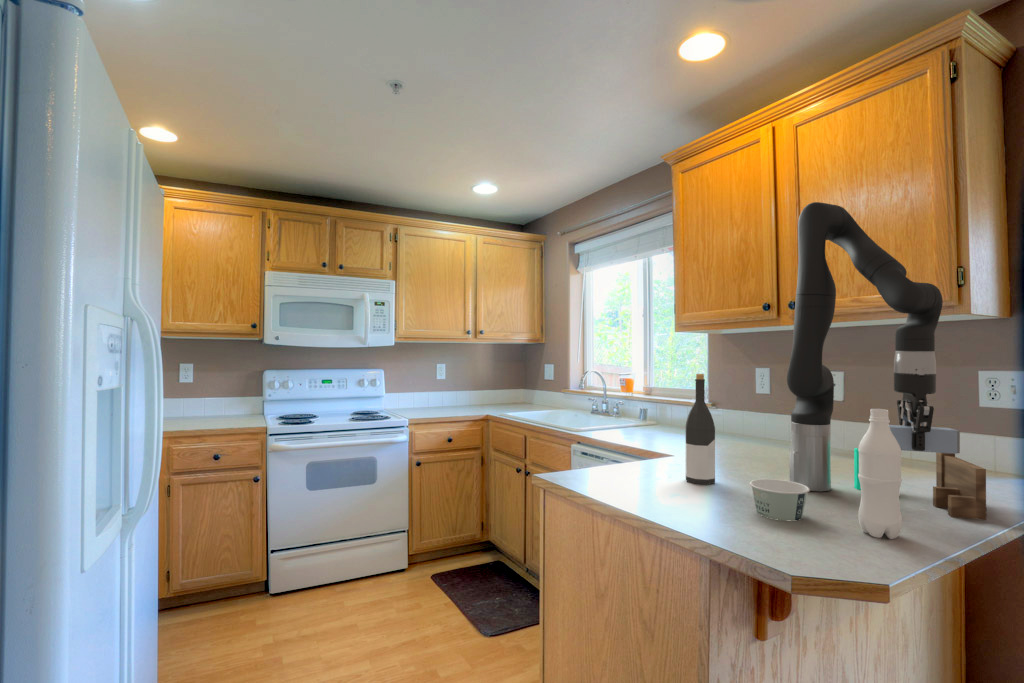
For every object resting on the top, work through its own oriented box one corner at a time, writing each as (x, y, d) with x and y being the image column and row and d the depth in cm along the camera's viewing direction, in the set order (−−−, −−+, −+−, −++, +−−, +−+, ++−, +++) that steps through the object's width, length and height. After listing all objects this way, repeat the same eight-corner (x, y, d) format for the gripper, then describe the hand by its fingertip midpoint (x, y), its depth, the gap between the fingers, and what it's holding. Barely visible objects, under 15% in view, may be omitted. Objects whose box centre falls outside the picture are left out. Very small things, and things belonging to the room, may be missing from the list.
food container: (737, 510, 122) (737, 481, 122) (775, 504, 127) (775, 476, 127) (783, 526, 111) (782, 495, 111) (822, 519, 116) (822, 489, 116)
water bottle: (903, 543, 101) (903, 412, 101) (858, 536, 105) (858, 410, 105) (900, 532, 107) (899, 408, 107) (858, 526, 111) (857, 406, 111)
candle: (878, 487, 142) (878, 442, 142) (883, 493, 136) (883, 446, 136) (852, 485, 144) (852, 441, 144) (856, 490, 139) (855, 444, 139)
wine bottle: (690, 476, 153) (689, 372, 153) (719, 480, 148) (718, 373, 149) (680, 482, 147) (680, 374, 147) (711, 487, 142) (710, 375, 142)
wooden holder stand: (951, 516, 117) (950, 458, 117) (917, 495, 134) (917, 444, 134) (989, 520, 115) (988, 460, 115) (949, 497, 132) (949, 445, 132)
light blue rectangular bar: (880, 449, 119) (881, 426, 119) (875, 445, 122) (875, 424, 122) (959, 453, 114) (959, 430, 114) (951, 450, 118) (951, 427, 118)
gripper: (883, 369, 126) (883, 441, 126) (906, 372, 113) (906, 453, 113) (921, 370, 124) (921, 444, 124) (949, 373, 110) (949, 456, 110)
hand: (914, 448), depth 118 cm, fingers closed on light blue rectangular bar, 4 cm apart
